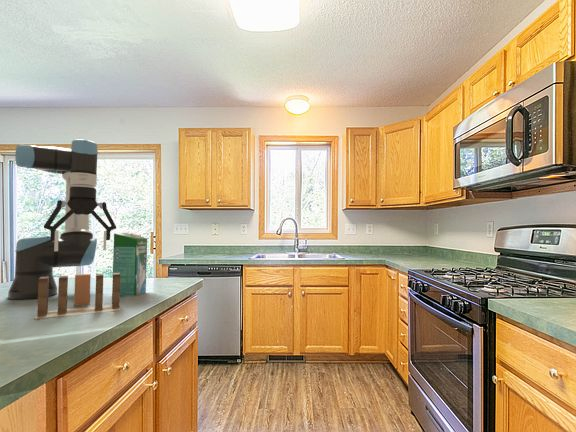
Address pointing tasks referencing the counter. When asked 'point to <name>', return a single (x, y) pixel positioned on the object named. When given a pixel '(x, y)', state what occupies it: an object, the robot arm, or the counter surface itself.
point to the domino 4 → (116, 291)
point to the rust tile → (82, 289)
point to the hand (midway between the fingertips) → (81, 250)
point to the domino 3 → (99, 292)
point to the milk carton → (130, 262)
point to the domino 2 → (62, 295)
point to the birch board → (78, 311)
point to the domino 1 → (43, 296)
